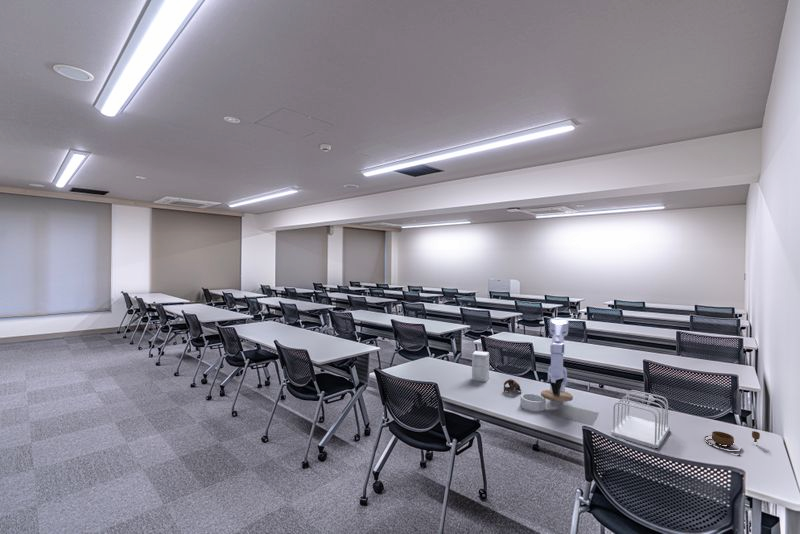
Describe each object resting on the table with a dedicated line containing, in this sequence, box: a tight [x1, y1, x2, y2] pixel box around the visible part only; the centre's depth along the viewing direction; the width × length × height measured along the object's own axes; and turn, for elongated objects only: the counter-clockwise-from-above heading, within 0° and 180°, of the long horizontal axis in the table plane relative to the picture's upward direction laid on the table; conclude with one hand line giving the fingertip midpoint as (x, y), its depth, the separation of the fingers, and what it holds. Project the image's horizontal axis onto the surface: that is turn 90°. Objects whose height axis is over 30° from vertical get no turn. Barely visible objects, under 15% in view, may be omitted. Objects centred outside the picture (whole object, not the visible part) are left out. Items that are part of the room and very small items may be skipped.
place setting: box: [704, 430, 761, 447], centre depth 155 cm, size 18×20×6 cm
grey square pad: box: [552, 403, 600, 426], centre depth 185 cm, size 18×18×1 cm
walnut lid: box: [540, 389, 574, 403], centre depth 188 cm, size 15×15×4 cm
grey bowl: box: [520, 392, 547, 412], centre depth 194 cm, size 12×12×5 cm
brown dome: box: [503, 378, 522, 394], centre depth 216 cm, size 12×10×8 cm
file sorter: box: [610, 389, 671, 449], centre depth 166 cm, size 25×17×16 cm
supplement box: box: [471, 350, 490, 382], centre depth 238 cm, size 10×9×17 cm
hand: (556, 393), depth 189 cm, fingers closed on walnut lid, 3 cm apart
